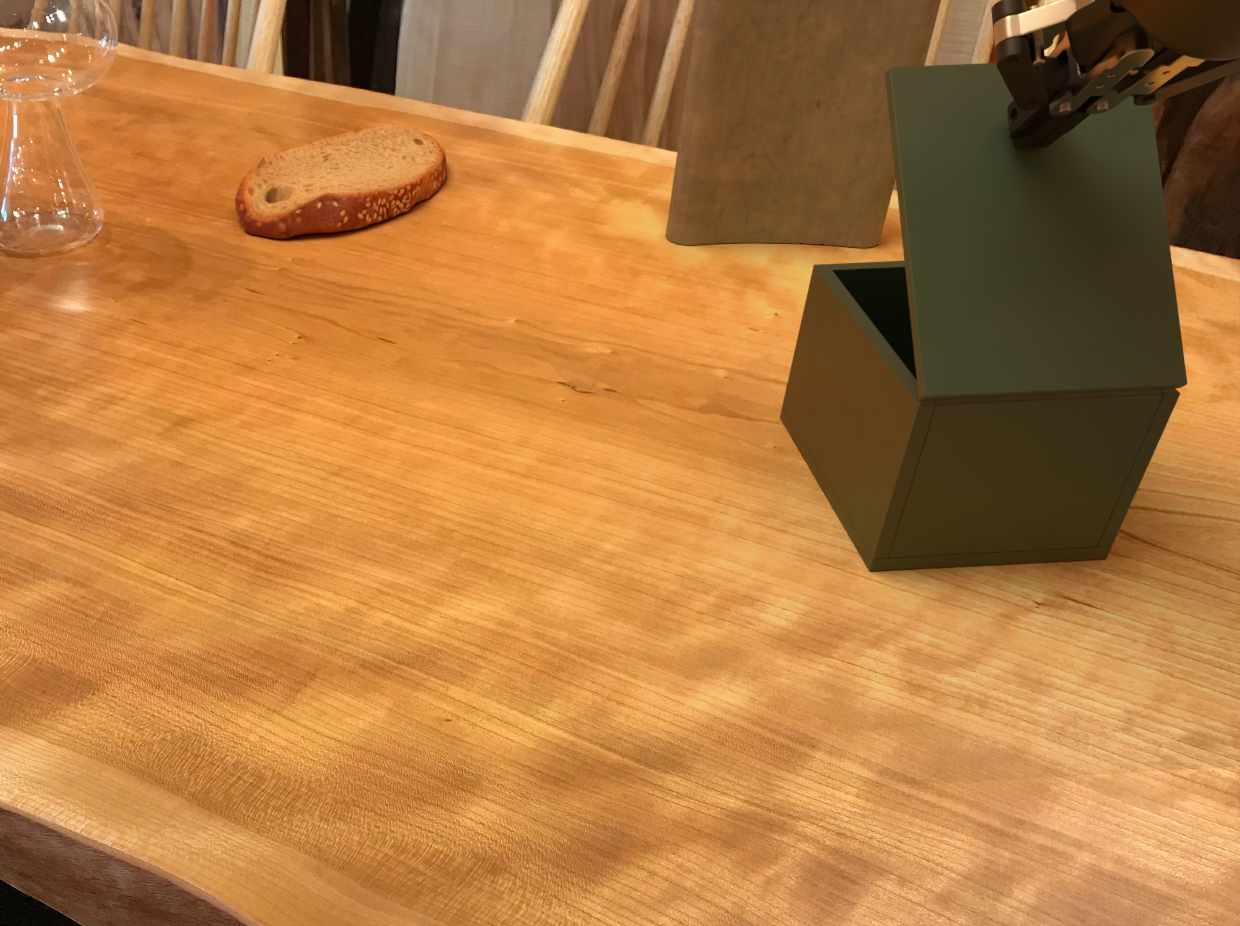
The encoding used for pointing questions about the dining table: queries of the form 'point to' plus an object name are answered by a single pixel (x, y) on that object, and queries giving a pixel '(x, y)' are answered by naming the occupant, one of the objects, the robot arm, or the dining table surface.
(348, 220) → the bread slice
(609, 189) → the dining table surface
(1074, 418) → the bread box
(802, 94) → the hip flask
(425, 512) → the dining table surface
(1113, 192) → the bread box lid
